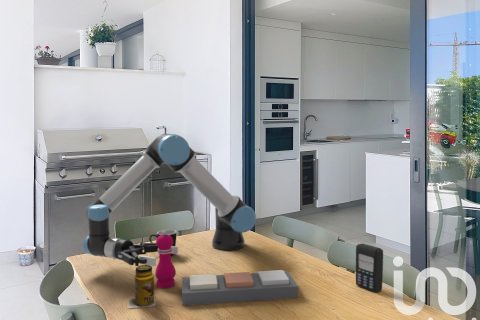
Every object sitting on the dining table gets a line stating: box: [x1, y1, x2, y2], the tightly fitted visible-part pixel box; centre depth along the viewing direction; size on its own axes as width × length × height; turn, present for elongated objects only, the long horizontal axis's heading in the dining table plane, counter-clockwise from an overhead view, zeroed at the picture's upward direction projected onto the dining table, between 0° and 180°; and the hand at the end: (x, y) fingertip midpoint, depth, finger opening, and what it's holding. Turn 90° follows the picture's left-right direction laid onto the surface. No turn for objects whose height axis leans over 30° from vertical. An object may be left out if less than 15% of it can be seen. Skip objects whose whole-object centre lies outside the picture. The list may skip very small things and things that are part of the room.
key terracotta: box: [223, 271, 254, 288], centre depth 147 cm, size 9×9×3 cm
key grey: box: [257, 269, 289, 286], centre depth 148 cm, size 9×9×3 cm
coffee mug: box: [148, 229, 178, 257], centre depth 190 cm, size 12×9×10 cm
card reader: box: [355, 243, 384, 293], centre depth 149 cm, size 9×4×15 cm, turn 37°
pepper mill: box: [154, 229, 176, 289], centre depth 154 cm, size 7×7×20 cm
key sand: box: [189, 273, 218, 290], centre depth 145 cm, size 9×9×3 cm
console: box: [181, 270, 299, 306], centre depth 147 cm, size 14×38×4 cm, turn 97°
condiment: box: [128, 264, 157, 309], centre depth 140 cm, size 7×8×12 cm
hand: (167, 256), depth 153 cm, fingers open, 13 cm apart
